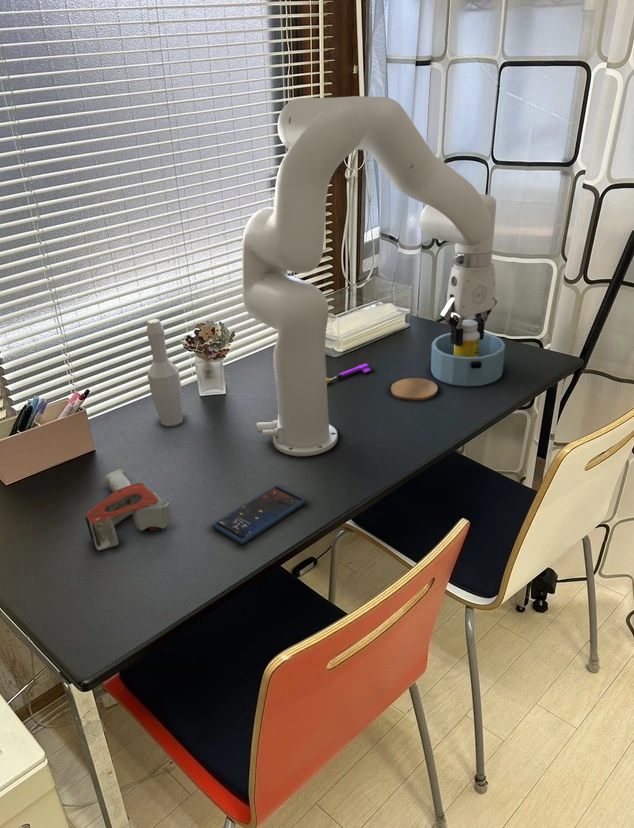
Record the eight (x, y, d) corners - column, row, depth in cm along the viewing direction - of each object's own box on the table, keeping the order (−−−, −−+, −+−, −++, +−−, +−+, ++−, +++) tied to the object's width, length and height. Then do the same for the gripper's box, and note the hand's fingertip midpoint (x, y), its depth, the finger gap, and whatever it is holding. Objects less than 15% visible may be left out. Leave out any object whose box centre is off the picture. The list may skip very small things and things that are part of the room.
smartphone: (307, 499, 119) (241, 542, 110) (307, 503, 120) (242, 546, 111) (276, 483, 124) (210, 524, 115) (276, 487, 124) (211, 528, 115)
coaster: (394, 402, 149) (394, 399, 149) (388, 381, 158) (388, 379, 158) (441, 399, 149) (441, 396, 149) (433, 379, 158) (433, 376, 157)
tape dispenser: (117, 486, 131) (54, 546, 115) (111, 460, 129) (45, 518, 112) (203, 492, 126) (150, 556, 109) (199, 466, 123) (143, 527, 107)
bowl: (438, 390, 153) (439, 362, 149) (425, 358, 168) (426, 332, 164) (511, 385, 152) (514, 357, 149) (491, 353, 167) (493, 327, 164)
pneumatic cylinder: (365, 365, 165) (311, 387, 158) (366, 361, 165) (311, 383, 157) (373, 371, 164) (318, 393, 156) (373, 367, 163) (318, 389, 156)
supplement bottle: (453, 358, 161) (455, 318, 156) (477, 359, 160) (480, 318, 155) (452, 368, 157) (455, 326, 152) (477, 368, 156) (481, 327, 151)
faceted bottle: (161, 430, 145) (141, 329, 134) (153, 418, 150) (133, 319, 139) (190, 423, 147) (173, 322, 136) (182, 411, 152) (165, 313, 141)
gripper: (453, 270, 140) (448, 355, 150) (516, 254, 147) (507, 337, 157) (428, 262, 146) (425, 345, 155) (491, 247, 153) (484, 327, 162)
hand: (466, 340), depth 156 cm, fingers closed on supplement bottle, 5 cm apart
